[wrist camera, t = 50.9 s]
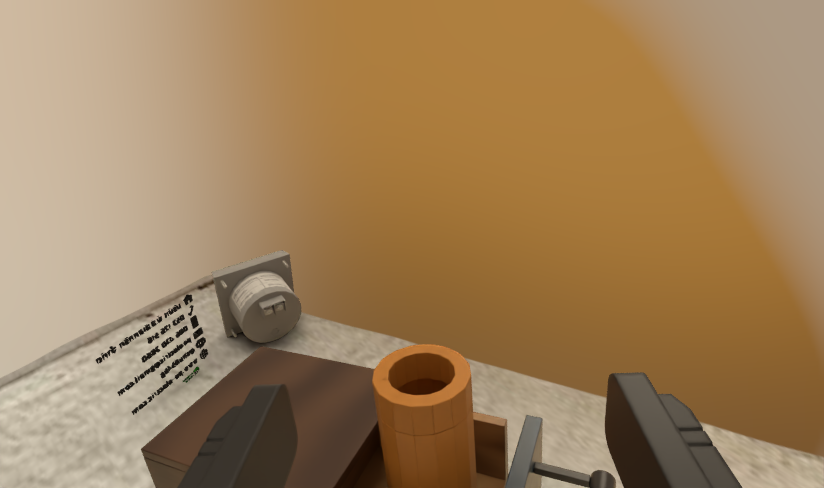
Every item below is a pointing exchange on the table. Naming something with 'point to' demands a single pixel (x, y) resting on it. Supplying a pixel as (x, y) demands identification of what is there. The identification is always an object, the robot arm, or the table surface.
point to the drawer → (488, 460)
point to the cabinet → (312, 408)
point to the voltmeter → (236, 310)
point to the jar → (426, 418)
